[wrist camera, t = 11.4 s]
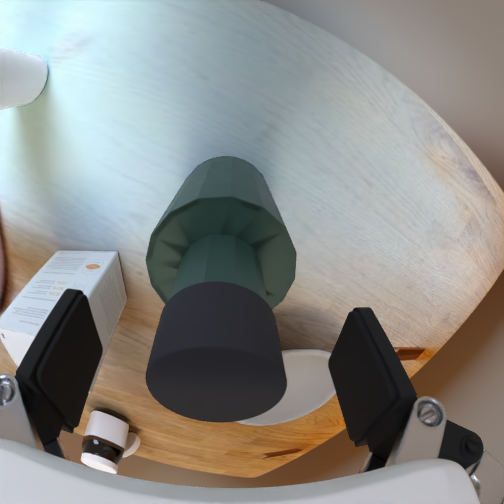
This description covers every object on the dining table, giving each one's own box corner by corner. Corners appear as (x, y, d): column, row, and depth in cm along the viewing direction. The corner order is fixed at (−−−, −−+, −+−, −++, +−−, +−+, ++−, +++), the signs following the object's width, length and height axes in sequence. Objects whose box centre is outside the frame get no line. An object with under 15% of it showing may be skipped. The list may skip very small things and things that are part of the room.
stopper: (160, 253, 13) (116, 366, 7) (242, 216, 13) (253, 324, 7) (203, 317, 15) (193, 430, 9) (277, 289, 15) (304, 404, 9)
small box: (71, 296, 28) (22, 376, 17) (57, 248, 25) (-9, 325, 14) (129, 300, 29) (92, 396, 18) (119, 250, 26) (62, 342, 15)
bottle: (168, 179, 23) (86, 284, 9) (247, 142, 22) (273, 196, 8) (207, 248, 27) (187, 395, 13) (280, 217, 26) (334, 350, 12)
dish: (278, 406, 41) (281, 432, 36) (197, 382, 36) (195, 411, 32) (357, 341, 35) (370, 369, 30) (272, 300, 30) (278, 332, 26)
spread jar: (97, 399, 39) (82, 453, 29) (153, 423, 43) (146, 477, 33) (86, 418, 43) (74, 463, 33) (133, 438, 47) (126, 483, 37)
